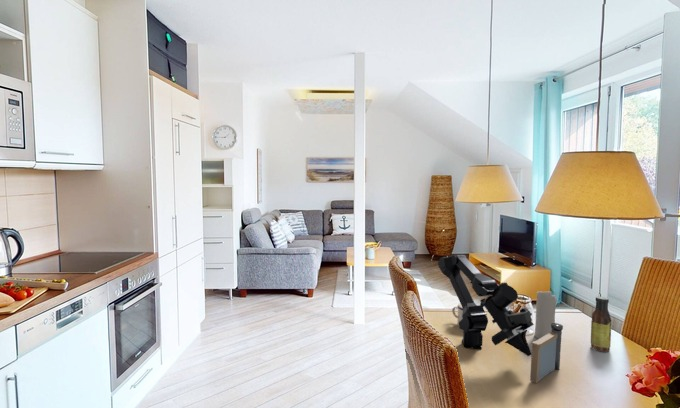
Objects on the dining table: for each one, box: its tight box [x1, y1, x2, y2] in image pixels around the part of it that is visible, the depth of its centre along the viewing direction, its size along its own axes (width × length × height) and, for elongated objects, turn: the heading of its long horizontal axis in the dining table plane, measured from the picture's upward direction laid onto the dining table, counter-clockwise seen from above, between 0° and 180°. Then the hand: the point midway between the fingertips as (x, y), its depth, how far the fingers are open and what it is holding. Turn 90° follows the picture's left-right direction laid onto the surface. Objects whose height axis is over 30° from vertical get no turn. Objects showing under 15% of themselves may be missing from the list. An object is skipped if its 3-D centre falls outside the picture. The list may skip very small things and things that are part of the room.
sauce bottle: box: [590, 296, 612, 353], centre depth 141 cm, size 6×6×20 cm
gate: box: [529, 332, 557, 384], centre depth 121 cm, size 14×2×12 cm, turn 129°
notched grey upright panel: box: [534, 290, 558, 340], centre depth 153 cm, size 7×14×20 cm, turn 124°
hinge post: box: [551, 322, 564, 371], centre depth 126 cm, size 4×4×15 cm
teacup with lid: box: [451, 302, 463, 327], centre depth 162 cm, size 12×9×12 cm
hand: (530, 355), depth 121 cm, fingers closed
